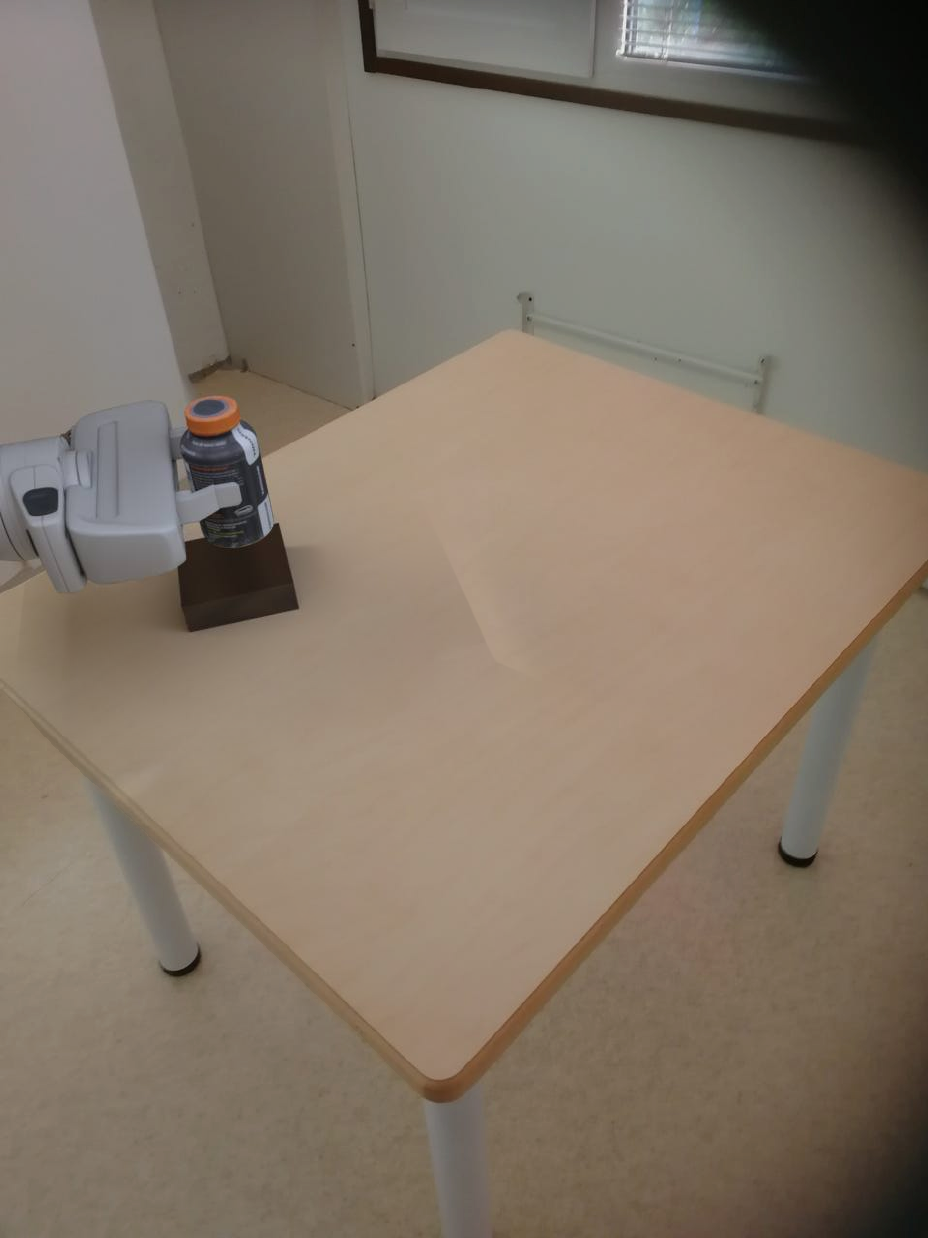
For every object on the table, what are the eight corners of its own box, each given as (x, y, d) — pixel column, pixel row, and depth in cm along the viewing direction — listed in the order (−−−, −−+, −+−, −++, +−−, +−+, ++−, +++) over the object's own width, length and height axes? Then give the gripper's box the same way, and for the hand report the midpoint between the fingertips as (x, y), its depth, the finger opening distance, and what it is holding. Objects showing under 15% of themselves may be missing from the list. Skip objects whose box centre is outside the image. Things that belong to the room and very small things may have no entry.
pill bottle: (289, 521, 80) (266, 398, 72) (241, 558, 76) (211, 434, 69) (237, 500, 82) (209, 380, 75) (187, 536, 79) (153, 413, 71)
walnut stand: (189, 632, 86) (181, 607, 84) (182, 567, 93) (175, 543, 91) (299, 608, 88) (293, 583, 86) (284, 547, 95) (278, 522, 93)
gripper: (69, 462, 83) (230, 435, 85) (61, 610, 68) (256, 572, 70) (46, 396, 78) (216, 370, 81) (31, 538, 63) (240, 500, 66)
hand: (235, 465), depth 75 cm, fingers closed on pill bottle, 6 cm apart
